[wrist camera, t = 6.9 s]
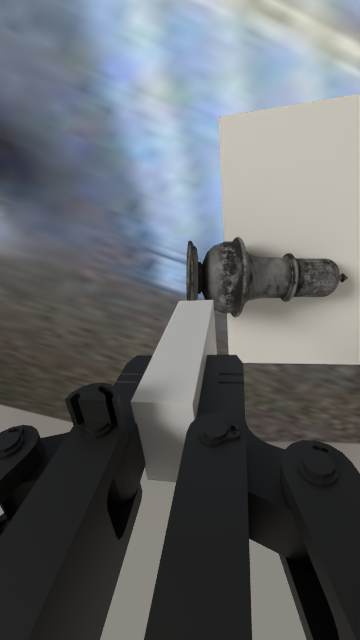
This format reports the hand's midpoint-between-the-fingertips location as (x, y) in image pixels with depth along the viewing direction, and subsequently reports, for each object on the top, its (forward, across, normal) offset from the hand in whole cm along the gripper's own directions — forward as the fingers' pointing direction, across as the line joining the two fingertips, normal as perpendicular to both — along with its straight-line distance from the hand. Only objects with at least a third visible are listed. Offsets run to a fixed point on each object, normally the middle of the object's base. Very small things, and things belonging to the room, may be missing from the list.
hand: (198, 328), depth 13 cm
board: (+13, +8, 0) cm, 15 cm away
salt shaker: (+9, -2, 0) cm, 9 cm away
